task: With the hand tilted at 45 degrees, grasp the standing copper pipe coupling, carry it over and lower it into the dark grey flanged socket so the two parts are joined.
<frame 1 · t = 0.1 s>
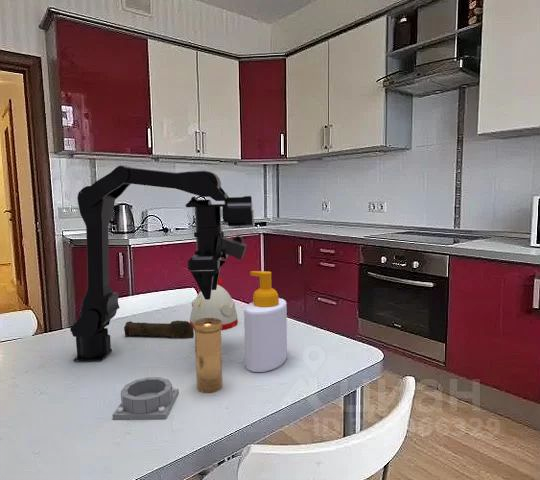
hand: (211, 294, 93), 15 cm above the table, tool pointing down, fingers open, 9 cm apart
hand tool: (160, 337, 109), on the table
coupling: (209, 386, 79), on the table
soap bottle: (266, 362, 91), on the table
kitchen timer: (214, 324, 119), on the table
socket: (147, 405, 72), on the table
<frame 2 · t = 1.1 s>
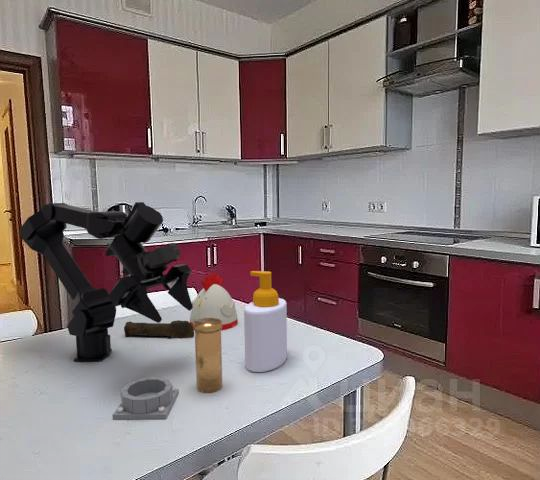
hand: (176, 315, 81), 13 cm above the table, tool tilted 45°, fingers open, 9 cm apart
nothing on the table moved.
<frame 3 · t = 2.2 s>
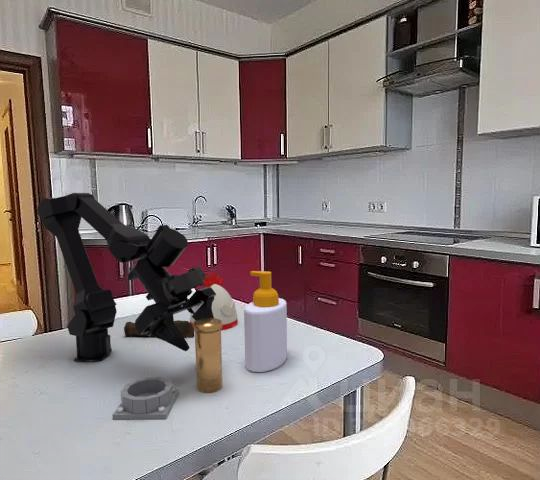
hand: (203, 341, 79), 9 cm above the table, tool tilted 45°, fingers open, 9 cm apart
nothing on the table moved.
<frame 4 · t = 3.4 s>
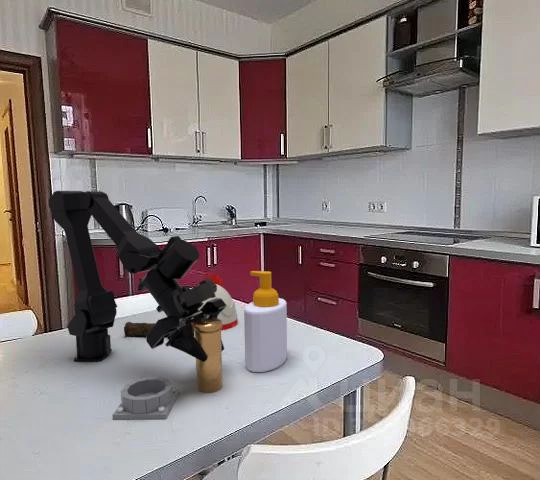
hand: (214, 355, 78), 7 cm above the table, tool tilted 45°, fingers closed on coupling, 5 cm apart
coupling: (209, 386, 79), on the table, touching gripper
everything else where it was.
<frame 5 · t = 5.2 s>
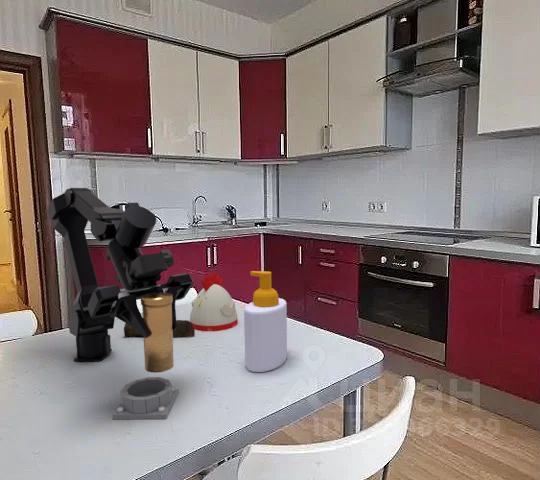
hand: (161, 332, 71), 13 cm above the table, tool tilted 45°, fingers closed on coupling, 5 cm apart
coupling: (159, 366, 73), point 7 cm above the table, touching gripper
everything else where it was.
when the fingers open (8 cm above the table, at t = 6.9 s): coupling drops 1 cm, resting on socket.
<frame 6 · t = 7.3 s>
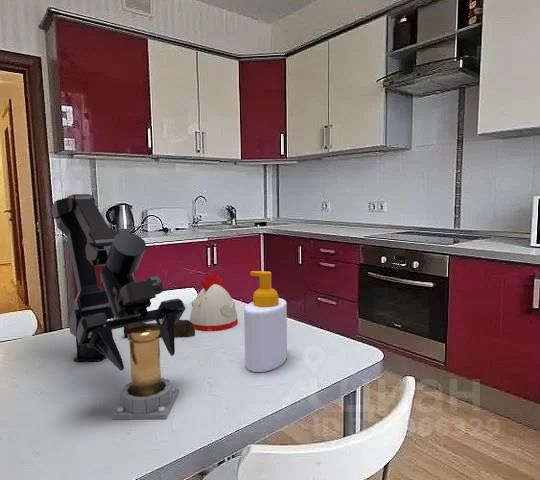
hand: (148, 361, 70), 9 cm above the table, tool tilted 45°, fingers open, 9 cm apart
coupling: (147, 401, 72), point 1 cm above the table, touching socket
everything else where it was.
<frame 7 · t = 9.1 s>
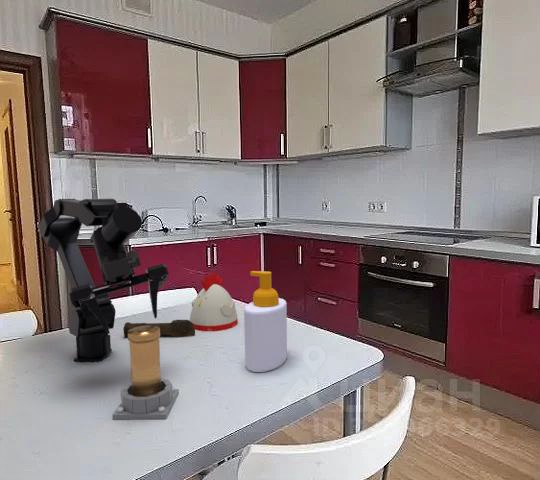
hand: (132, 325, 80), 12 cm above the table, tool tilted 30°, fingers open, 9 cm apart
nothing on the table moved.
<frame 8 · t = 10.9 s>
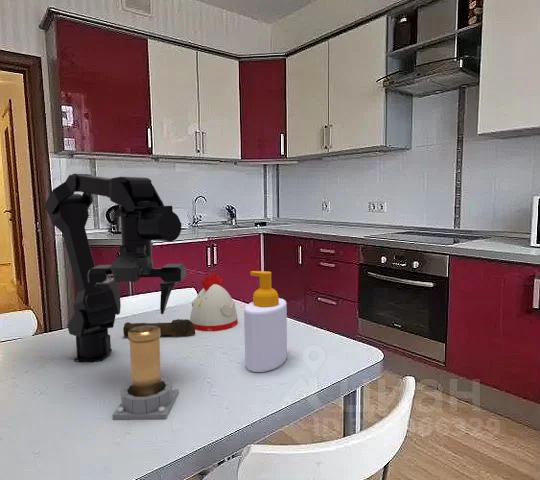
hand: (140, 313, 84), 13 cm above the table, tool pointing down, fingers open, 9 cm apart
nothing on the table moved.
at the end: coupling 0.0 cm off-centre on the socket, point 0.8 cm above the socket's base; coupling tilted 0°; the gripper is holding nothing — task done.
